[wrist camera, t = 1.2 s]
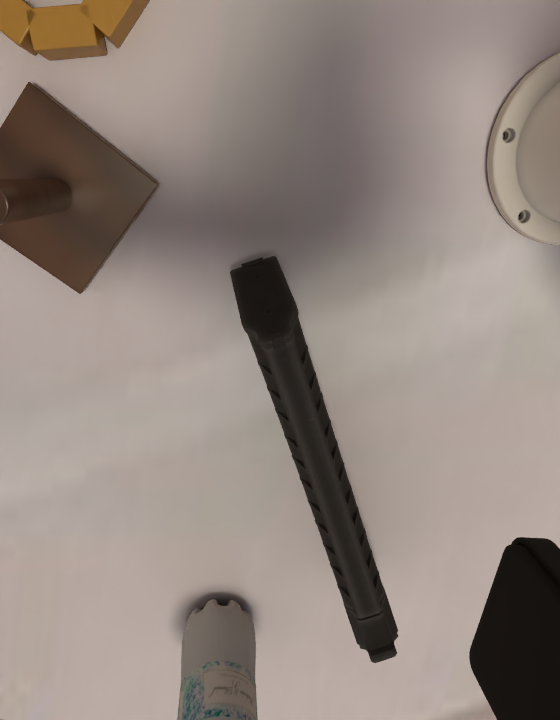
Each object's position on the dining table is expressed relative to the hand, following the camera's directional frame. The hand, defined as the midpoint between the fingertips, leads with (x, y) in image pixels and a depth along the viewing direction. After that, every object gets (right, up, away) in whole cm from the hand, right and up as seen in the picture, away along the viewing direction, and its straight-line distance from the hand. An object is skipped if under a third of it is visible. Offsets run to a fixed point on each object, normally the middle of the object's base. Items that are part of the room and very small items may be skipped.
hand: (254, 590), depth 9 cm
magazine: (+3, -2, +32) cm, 32 cm away
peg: (-14, +15, +24) cm, 31 cm away
